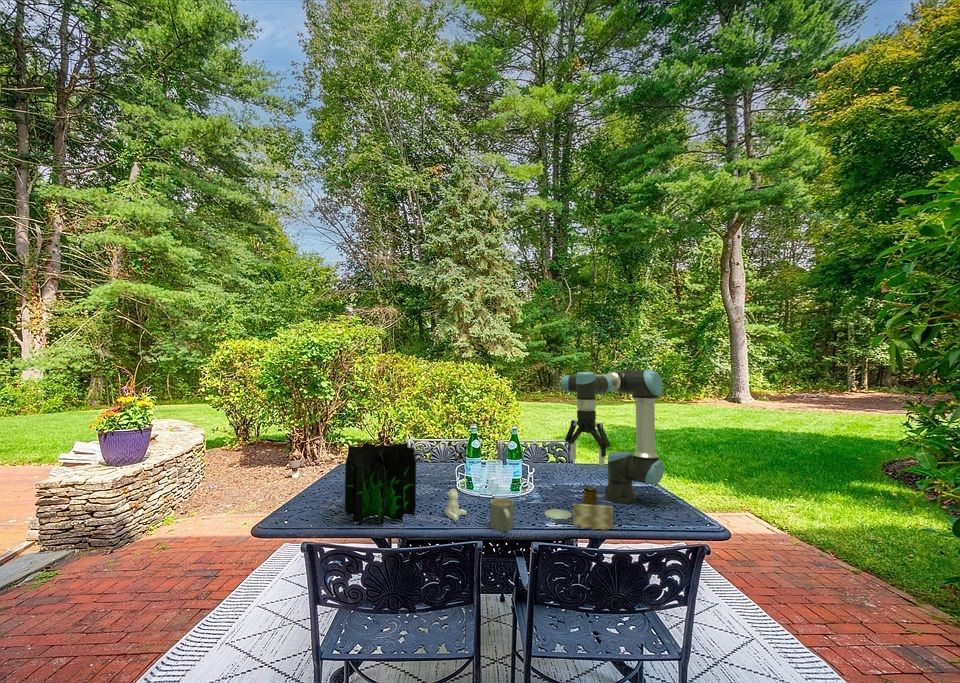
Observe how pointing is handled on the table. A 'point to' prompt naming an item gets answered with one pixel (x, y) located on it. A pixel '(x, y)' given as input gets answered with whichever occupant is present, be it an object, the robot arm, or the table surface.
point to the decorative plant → (380, 481)
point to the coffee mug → (501, 514)
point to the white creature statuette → (454, 506)
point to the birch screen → (593, 516)
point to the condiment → (590, 496)
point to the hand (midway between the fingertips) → (587, 462)
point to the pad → (558, 514)
